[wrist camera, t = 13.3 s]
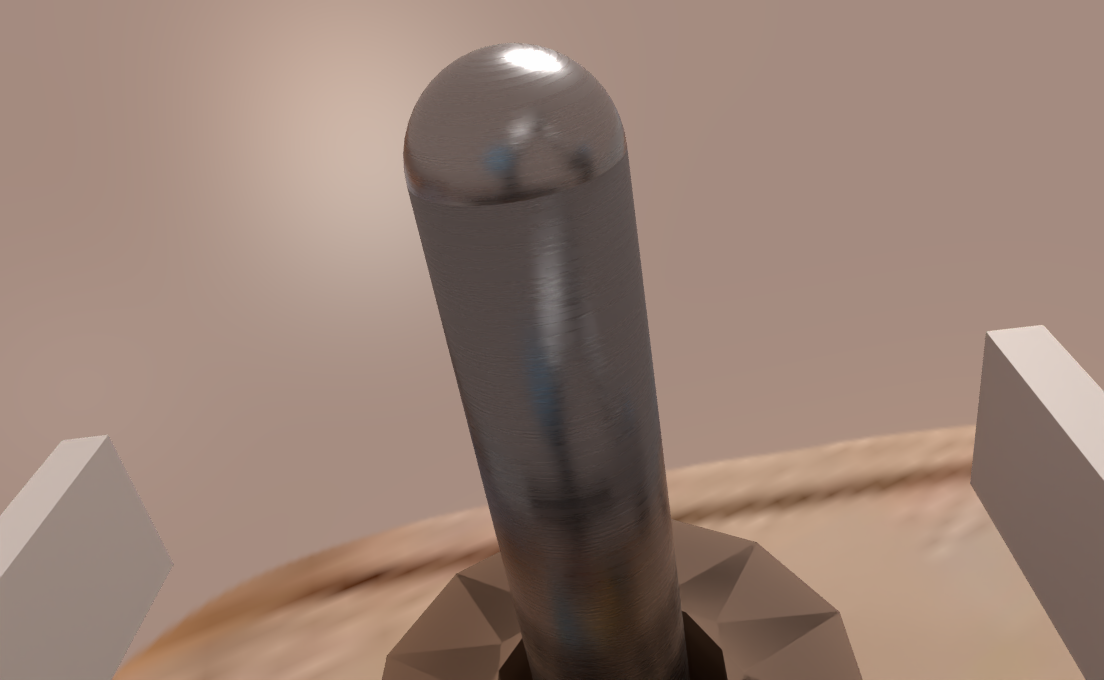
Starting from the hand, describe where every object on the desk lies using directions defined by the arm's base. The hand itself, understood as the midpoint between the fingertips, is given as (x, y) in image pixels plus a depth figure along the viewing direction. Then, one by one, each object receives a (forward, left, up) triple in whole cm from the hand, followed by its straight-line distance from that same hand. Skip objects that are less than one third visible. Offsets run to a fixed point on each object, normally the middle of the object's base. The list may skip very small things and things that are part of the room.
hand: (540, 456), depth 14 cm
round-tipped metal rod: (0, -1, -13) cm, 13 cm away
